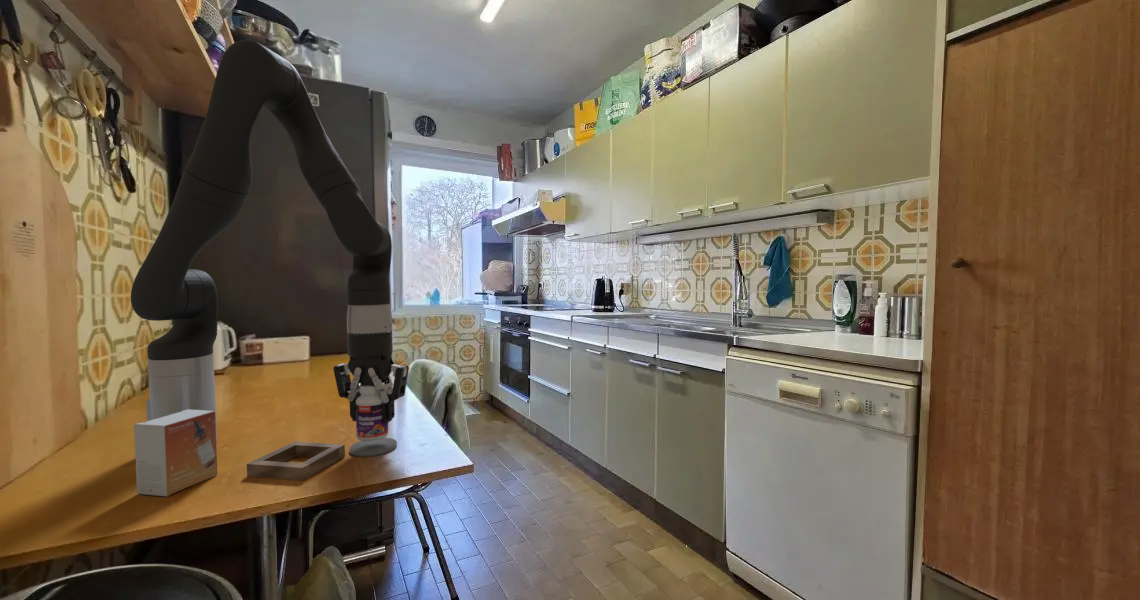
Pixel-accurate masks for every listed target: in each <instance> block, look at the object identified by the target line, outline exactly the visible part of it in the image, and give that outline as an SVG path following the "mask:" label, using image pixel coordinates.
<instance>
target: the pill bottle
mask: <svg viewBox="0 0 1140 600" xmlns="http://www.w3.org/2000/svg"><path fill="white" fill-rule="evenodd" d="M382 384H383V385H384V383H382ZM359 392H360V394H361V396H360V397H358V398H357V400H356V421H355V429H356V431H355V433H356V439H357V440H358V441H375V440H379V439H382V438H387V436H388V434H389V422H388V423H383V422H382V403H384V402H383V400H382V398H381V395H380V393H379V392H378V391H377V390H376V388H375V386H372V385H369V384H368V385H360V390H359Z"/></svg>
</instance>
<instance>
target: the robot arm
mask: <svg viewBox="0 0 1140 600" xmlns="http://www.w3.org/2000/svg"><path fill="white" fill-rule="evenodd" d="M216 71H217V72H216V76H215V79H214V83H213V88H212V91H211V96H210V100H209V102H208V108H207V111H206V113H205V114H206V115H205V117H204V120H203V123H202V126H201V128H200V132H199V134H198V137H197V139H196V142H195V144H194V148H193V149H192V150H193V151H192V153H191V156H190V158H189V159H188V162H187V164H186V166H185V169H184V171H183V173H182V176H181V178H180V181H179V184H178V187H177V189H176V193H175V195H174V198H173V201H172V204H171V206H170V209H169V211H168V213H167V215H166V217H165V220H164V222H163V224H162V226H161V229H160V231H159V233H158V236H157V237H156V239H155V241H154V243H153V245H152V247H151V248H150V250H149V251H148V254H146V255H147V256H146V258H145V259H144V261H143V262H142V264H141V266H140V268H139V270H138V272H137V274H136V276H135V278H134V280H133V282H132V283H133V284H132V286H131V290H130V304H131V307H132V310H133V311H134V313H135V314H136V315H137V316H138V317H140V318H141V319H143V320H147V321H156V322H157V321H162V322H163V321H173V323H172V326H171V328H170V329H169V331H168V330H167V332H166V333H165V334H164V335H162V336H160V337H158V338H156V339H154V340H152V341H151V342H150V343H148V345H147V366H148V367H147V368H148V369H147V370H148V385H149V386H148V387H149V388H148V389H149V398H148V399H147V400H146V402H145V406H146V409H145V410H146V421H150V420H154V419H157V418H161V417H164V416H168V415H171V414H175V413H178V412H182V411H184V410H187V409H190V410H206V411H215V421H216V422H217V406H216V405H217V404H216V386H215V385H216V384H215V383H216V382H215V365H214V344H215V341H216V339H217V336H218V317H219V316H218V312H219V311H218V310H219V309H218V308H219V307H218V306H219V302H218V301H219V299H218V298H219V297H218V296H219V295H218V290H217V286H216V284H215V281H214V279H213V278H212V276H211V275H210V274H208V273H207V272H206V271H204V270H200V269H197V268H196V269H194V268H190V267H191V265H192V263H193V262H194V260H195V258H196V257H197V255H198V254H199V253H200V252H201V250H203V249H204V248H205V247H206V246H207V245H208V244H210V243H211V242H212V241H213V240H214V239H215V238H217V237H218V236H219V235H221V234H222V233H223V232H224V231H226V230H227V229H228V228H229V227H230V226H231V225H232V224H233V223H234V222H235V221H236V220H237V218H239V216H240V215H241V212H242V210H243V208H244V206H245V203H246V200H247V198H248V196H249V193H250V191H251V188H252V185H253V164H252V163H253V162H252V156H251V155H252V154H251V136H252V132H253V129H254V126H255V123H256V120H257V118H258V115H259V114H260V112H261V109H262V107H263V108H265V109H268V111H269V112H270V113H271V114H272V115H273V116H274V117H275V119H276V120H277V121H278V122H279V123H280V124H281V126H282V127H283V128H284V130H285V131H286V133H287V134H288V136H289V139H290V141H291V143H292V145H293V148H294V153H295V155H296V156H295V157H296V159H297V164H298V165H299V169H300V171H301V174H302V176H303V178H304V181H305V182H306V183H307V185H308V187H309V188H310V189H311V191H312V192H313V194H314V196H315V197H316V199H317V200H318V202H319V204H320V205H321V206H322V208H323V209H324V210H325V212H326V215H327V217H328V220H329V222H330V224H331V227H332V229H333V231H334V233H335V235H336V237H337V239H338V240H339V242H340V243H341V245H342V246H343V247H344V248H345V250H347V252H348V253H350V254H351V255H352V257H353V258H352V272H351V273H350V274H349V275H348V279H347V284H346V285H347V289H346V290H347V313H346V335H347V336H346V339H347V340H346V341H347V355H348V356H349V360H348V363H346V362H344V363H341V364H336V365H335V366H333V368H332V370H333V374H334V379H335V383H336V389H337V393H338V396H339V397H340V398H341V399H344V398H345V399H347V401H348V402H349V416H350V419H351V421H352V422H356V400H357V398H358V397H360V396H361V394H360V392H359V390H360V385H368V384H369V385H372V386H375V388H376V390H377V391H378V392H379V393H380V395H381V398H382V400H383V402H384V403H382V422H383V423H388V424H389V422H391V421H392V420H393V419H394V418H395V414H396V413H395V412H396V411H395V401H396V400H399V399H401V398H403V397H404V396H405V394H406V389H407V384H408V383H407V382H408V376H409V375H408V374H409V370H410V367H409V365H407V364H404V365H399V364H395V362H394V361H393V357H392V356H393V348H394V347H393V317H392V311H391V295H390V294H391V292H390V281H389V279H390V271H391V264H392V263H391V262H392V253H393V249H392V248H393V243H392V236H391V233H390V231H389V229H388V228H387V227H386V226H385V225H384V224H383V223H381V222H379V221H377V220H376V218H375V217H374V216H373V214H372V213H371V211H370V210H369V208H368V206H367V205H366V203H365V201H364V196H363V193H362V191H361V189H360V186H359V185H358V183H357V181H356V180H355V178H354V177H353V175H352V174H351V172H350V171H349V169H348V168H347V166H346V165H345V163H344V161H343V160H342V158H341V157H340V155H339V153H338V152H337V150H336V149H335V147H334V145H333V143H332V141H331V139H330V138H329V137H328V135H327V133H326V131H325V128H324V127H323V125H322V123H321V120H320V118H319V116H318V113H317V112H316V110H315V107H314V105H313V103H312V101H311V97H310V96H309V94H308V90H307V88H306V86H305V84H304V82H303V80H302V78H301V76H300V74H299V72H298V70H297V69H296V67H295V66H294V65H293V64H292V63H291V62H290V61H288V60H287V59H285V58H284V57H283V56H281V55H279V54H277V53H276V52H274V51H273V50H271V49H270V48H268V47H266V46H264V45H263V44H261V43H259V42H257V41H255V40H252V39H240V40H237V41H235V42H234V43H233V42H232V44H231V45H229V46H228V48H227V49H225V51H224V53H223V55H222V56H221V59H220V62H219V65H218V68H217V70H216ZM391 373H392V377H394V378H393V381H392V378H391V376H390V374H391ZM350 374H352V376H353V377H352V380H351V375H350ZM382 383H383V384H382ZM217 427H218V425H217V424H216V444H217V443H218V430H217V429H218V428H217Z"/></svg>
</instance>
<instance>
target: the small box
mask: <svg viewBox="0 0 1140 600" xmlns="http://www.w3.org/2000/svg"><path fill="white" fill-rule="evenodd" d="M216 425H217V420H216V421H215V411H206V410H190V409H187V410H184V411H182V412H178V413H175V414H171V415H168V416H164V417H161V418H157V419H154V420H150V421H147V420H146V421H143V422H138V423H134V424H133V433H134V452H135V454H134V455H135V475H136V478H135V479H136V480H135V481H136V493H137V494H138V495H146V496H158V497H169V496H171V495H173V494H175V493H177V492H180V491H182V490H185V489H186V488H189V487H191V486H194V485H196V484H199V483H201V482H203V481H206V480H208V479H211V478H214V477H216V476H217V475H218V454H217V453H218V452H217V451H218V450H217V443H216Z"/></svg>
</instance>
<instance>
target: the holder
mask: <svg viewBox="0 0 1140 600" xmlns="http://www.w3.org/2000/svg"><path fill="white" fill-rule="evenodd" d="M345 447H346V446H345V444H344V443H343V444H342V443H341V444H340V443H339V444H338V443H323V442H309V441H307V442H306V441H293V442H291V443H288V444H286V445H284V446H282V447H280V448H278V449H276V450H274V451H271V452H269V453H266V454H265V455H263V456H260V457H258V458H256V459H254V460H252V461H250V462H248V463H246V474H247V475H246V476H247V477H252V478H267V479H277V480H278V479H279V480H293V481H294V480H295V481H304V480H306V479H308V478H310V477H311V476H313V475H314V474H316V473H318V472H321V470H323V469H325V468H326V467H329V466H330V465H331V464H334V463H335V462H336V461H338V459H339V460H340V459H341V458H343V457H345V456H346V452H345ZM295 457H304V458H305V457H306V458H309V459H307V460H305V461H303V462H289V461H290V460H291V459H293V458H295Z"/></svg>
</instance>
